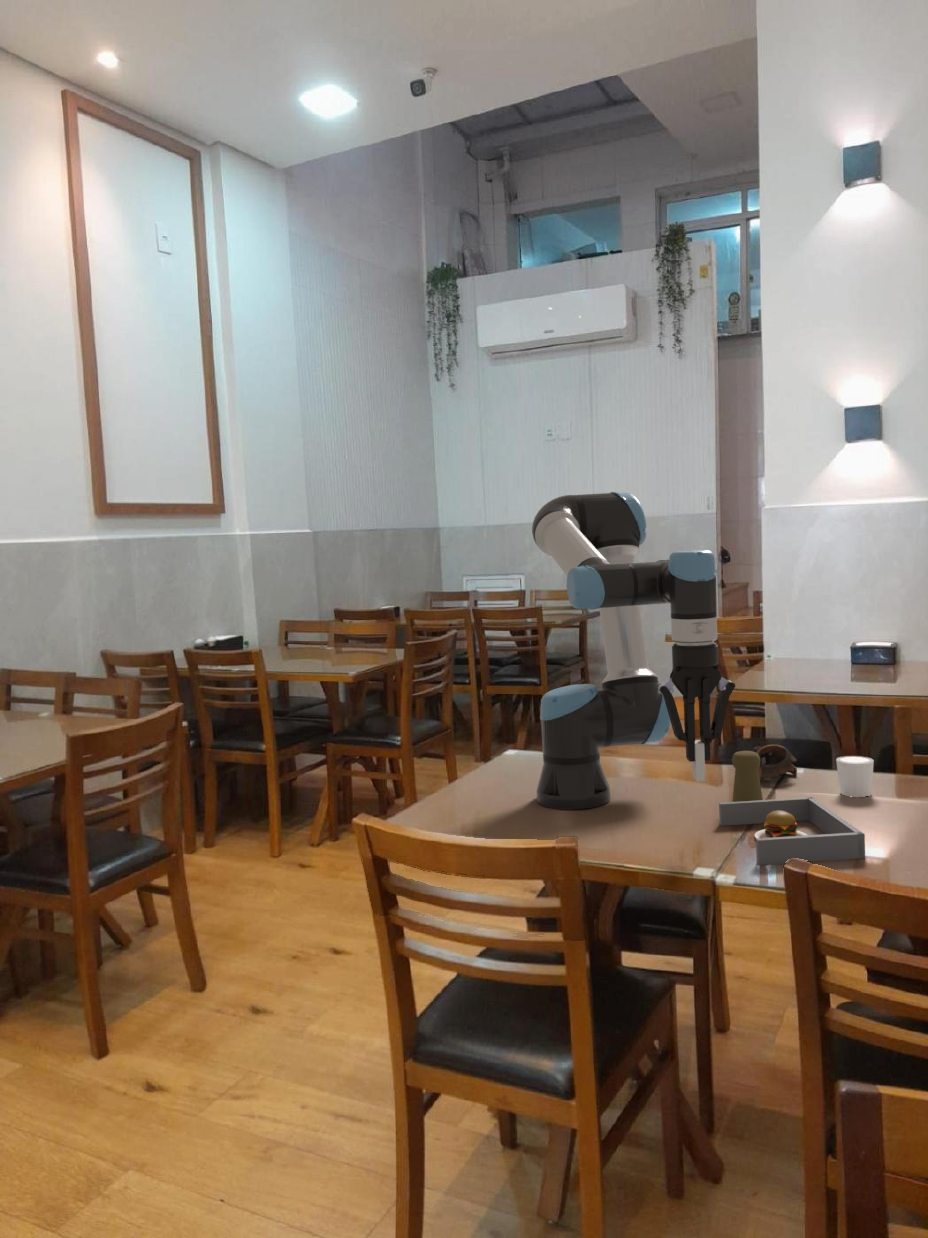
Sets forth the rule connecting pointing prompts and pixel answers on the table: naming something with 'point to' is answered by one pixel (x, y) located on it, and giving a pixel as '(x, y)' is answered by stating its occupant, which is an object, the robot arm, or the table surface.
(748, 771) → the olive green pepper shaker
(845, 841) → the box
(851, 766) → the white cup
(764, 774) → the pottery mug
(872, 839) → the table surface
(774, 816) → the hamburger
